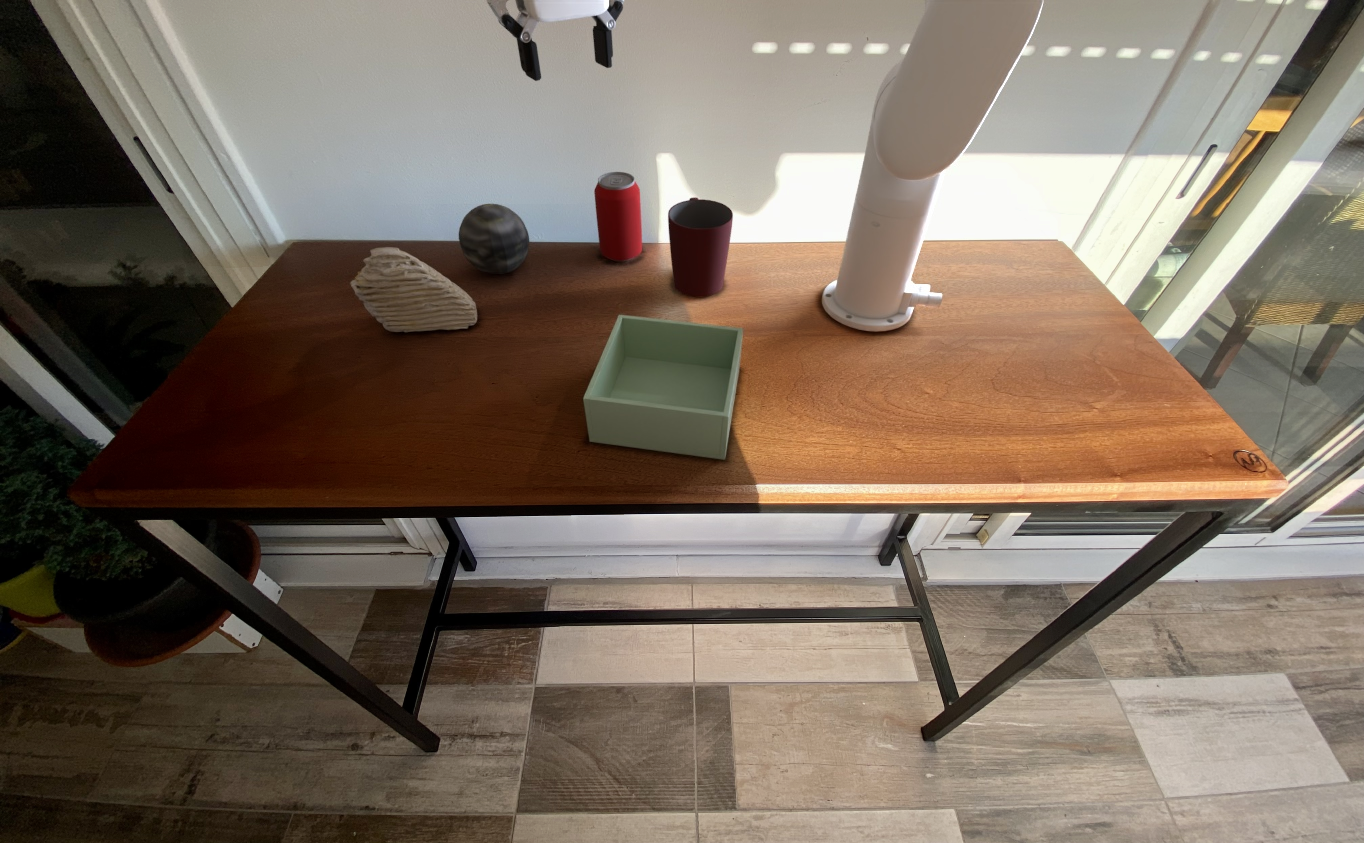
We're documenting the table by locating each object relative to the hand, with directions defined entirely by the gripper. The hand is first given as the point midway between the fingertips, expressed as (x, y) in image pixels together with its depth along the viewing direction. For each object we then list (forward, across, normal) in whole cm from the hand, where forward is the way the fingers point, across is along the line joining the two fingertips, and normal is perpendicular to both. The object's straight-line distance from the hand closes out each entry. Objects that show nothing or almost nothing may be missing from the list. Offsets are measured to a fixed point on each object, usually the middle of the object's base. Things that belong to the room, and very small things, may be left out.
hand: (569, 71), depth 74 cm
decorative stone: (+27, -12, +7) cm, 30 cm away
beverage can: (+27, +6, 0) cm, 28 cm away
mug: (+27, +12, -12) cm, 32 cm away
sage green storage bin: (+27, -8, -33) cm, 43 cm away
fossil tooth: (+27, -26, -1) cm, 38 cm away
